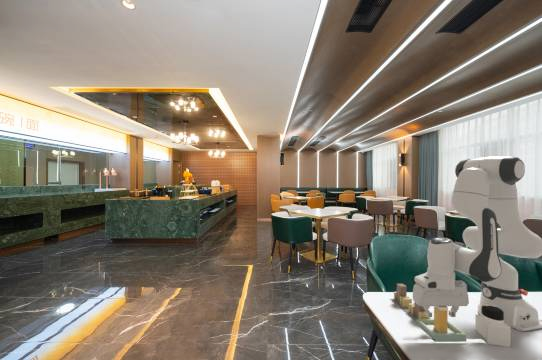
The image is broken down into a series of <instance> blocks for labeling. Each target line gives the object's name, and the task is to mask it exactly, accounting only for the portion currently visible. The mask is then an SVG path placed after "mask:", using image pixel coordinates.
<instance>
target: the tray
mask: <svg viewBox="0 0 542 360" xmlns="http://www.w3.org/2000/svg"><path fill="white" fill-rule="evenodd" d="M415 323H416V324H418V325H419V326H420V327H421V328H422V329H424V330H425V331H426V332H427V333H428V334H429V335H430V336H432V338H431V340H432V341H434V342H435V343H436V342H437V343H438V342H439V343H440V342H441V343H446V342H447V343H448V342H449V343H451V342H453V343H454V342H458V343H460V342H461V343H463V342H464V343H465V342H467V334H466V333H465V332H464V331H462V330H461V329H460V328H458V327H457V326H455V325H454V324H453V323H451V322H450V321H449V320H448V321H447V328H450V329H451V330H452V331H454V332H455V333H454V332H447V333H440V332H434V331H433V330H432V329H431V328H430V327H429V326H427V324H433V325H434V318H431V319H417V320H416V322H415Z"/></svg>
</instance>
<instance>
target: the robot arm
mask: <svg viewBox="0 0 542 360" xmlns="http://www.w3.org/2000/svg"><path fill="white" fill-rule="evenodd" d="M454 172H455V176H456V181H455V184H454V187H453V191H452V195H451V196H452V197H451V205H452V207H453V209H454V210H455V211H456V212H457V213H458V214H459V215H461V216H463V218H466V219H468V220H469V221H471V222H473V223H474V224H475V226H474V225H473V226H468V227H466V228H465V229H464V230H463V232H462V239H463V240H462V241H463V242H464V244H465V245H466V246H468V248H467V247H465V246H461V245H459V244H457V243H455V242H454V240H452V239H450V238H447V237H433V238H431V239H430V240H429V242H428V246H427V255H426V256H427V259H426V260H427V264H428V267H427V269H426V272H425V273H421V274H419V275H416V276H414V282H415V284H414V285H413V288H412V301H413V303H414V302H415V303H416V304H418V305H419V306H423V308H424V310H425V315H426V316H427V317H430V318H432V317H433V312H431V311H430V310H429V309H430V307H434V306H447V307H451V308H450V310H449V309H448V316H449V317H451V318H456V317H457V316H456V315H457V312H458V310H459V309H460V307H468V305H469V303H470V301H469V293H468V284H466V282H465V281H463V280H462V279H461V280H460V279H459V280H456V273H455V271H457V272H459V273H462V274H465V275H468V276H470V277H472V278H474V279H475V280H479V281H481V284H480V287H481V293H480V300H479V304H478V305H477V308H478V309H477V313H478V315H482V305H492V306H495V307H498V308H499V309H501V310H502V311H503V312H504V323H505V324H507V325H508V326H509V327H510V328H512V329H516V330H518V331H521V332H527V331H533V330H539V329H542V319H540V318H539V312H538V310H537V309H536V307H534V306H533V305H532V304H530V303H529V302H528V301H526V300H525V299H524V298H523V296H527V297H528V295H529V293H528V291H527V290H524V289H523V288H521V289H519V273H518V271H517V269H516V267H514V266H513V265H512V264H510V263H508V262H506V261H504V260H503V259H502V258H501V257H500V255H505V256H509V257H516V258H522V259H524V258H525V259H538V258H540V257H542V238H541V236H539V235H538V234H537V233H535V232H533V231H532V230H531V229H529V228H528V227H527V226H526V225H525V224H524V222H523V221H522V219H521V217H520V214H519V204H518V189H517V184H516V183H518V182H519V181H521V180H522V179H523V177H524V175H525V172H526V167H525V163H524V161H523V160H522V159H521V158H519V157H516V156H507V155H506V156H485V157H479V158H468V159H467V158H466V159H463V160H460V161H459V162H458V163H457V164H456V166H455V169H454ZM498 225H499V226H500V227H501V228H499V227H498ZM499 254H500V255H499ZM522 295H523V296H522Z"/></svg>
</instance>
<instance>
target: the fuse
mask: <svg viewBox="0 0 542 360" xmlns="http://www.w3.org/2000/svg"><path fill="white" fill-rule="evenodd" d="M448 307H449V306H433V319H434V324H433V328H434V329H435V330H436V331H437V333H448V326H447V321H449V320H448V316H449V314H448V313H449V312H448V310H449V308H448Z"/></svg>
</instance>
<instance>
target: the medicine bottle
mask: <svg viewBox="0 0 542 360" xmlns="http://www.w3.org/2000/svg"><path fill="white" fill-rule="evenodd" d="M474 317H475V319H474V320H475V324H474V325H475V327H474V329H475V331H476V332H477V333H478V334H479V335H480V336H482V337H483V338H481V339H482V340H483V341H484V342H485V343H486V344H487V345H492V346H500V347H506V348H511V342H512V341H511V337H512V336H511V335H512V330H511V328H512V327H509V326H508V325H507V324H505V323H504V312H503V311H502V310H501V309H499V308H498V307H495V306H492V305H482V315H480V314H475V315H474Z"/></svg>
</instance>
